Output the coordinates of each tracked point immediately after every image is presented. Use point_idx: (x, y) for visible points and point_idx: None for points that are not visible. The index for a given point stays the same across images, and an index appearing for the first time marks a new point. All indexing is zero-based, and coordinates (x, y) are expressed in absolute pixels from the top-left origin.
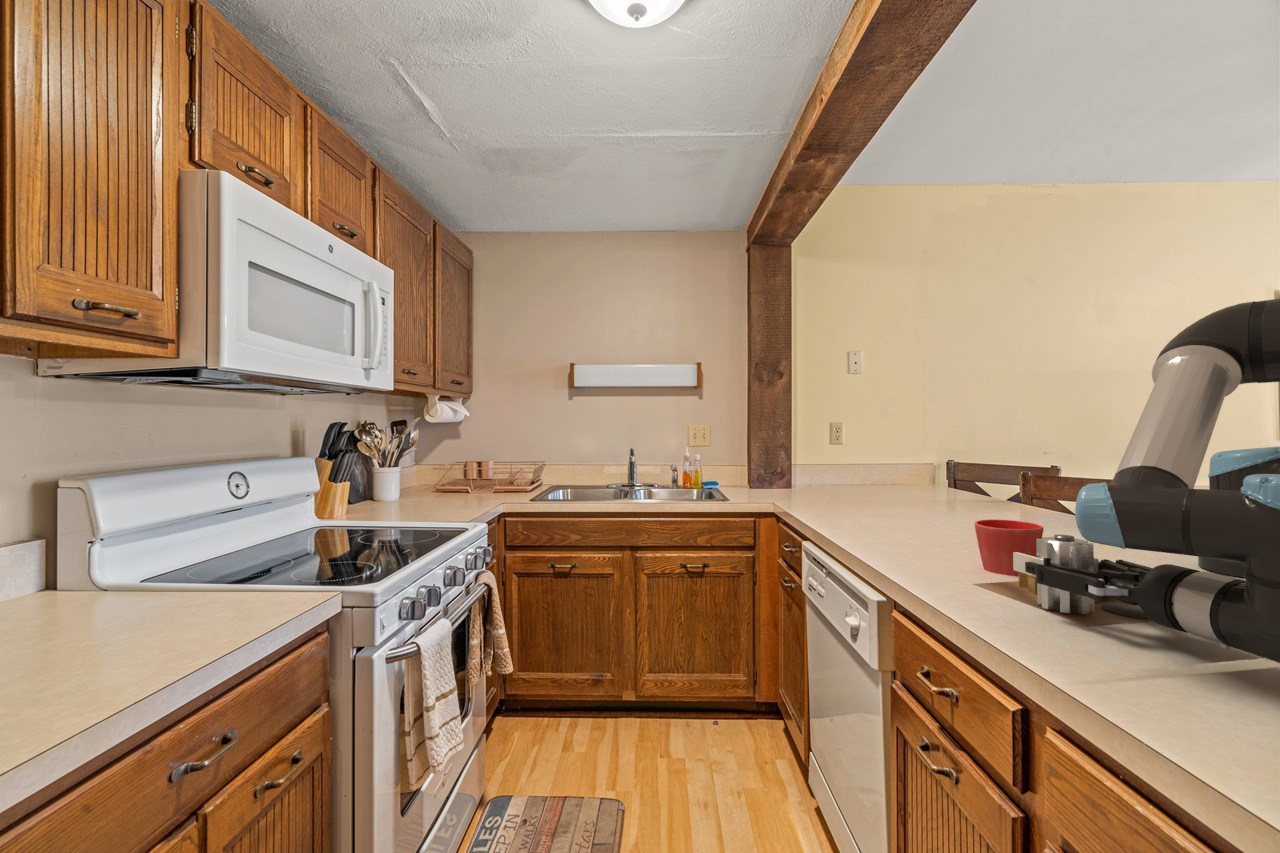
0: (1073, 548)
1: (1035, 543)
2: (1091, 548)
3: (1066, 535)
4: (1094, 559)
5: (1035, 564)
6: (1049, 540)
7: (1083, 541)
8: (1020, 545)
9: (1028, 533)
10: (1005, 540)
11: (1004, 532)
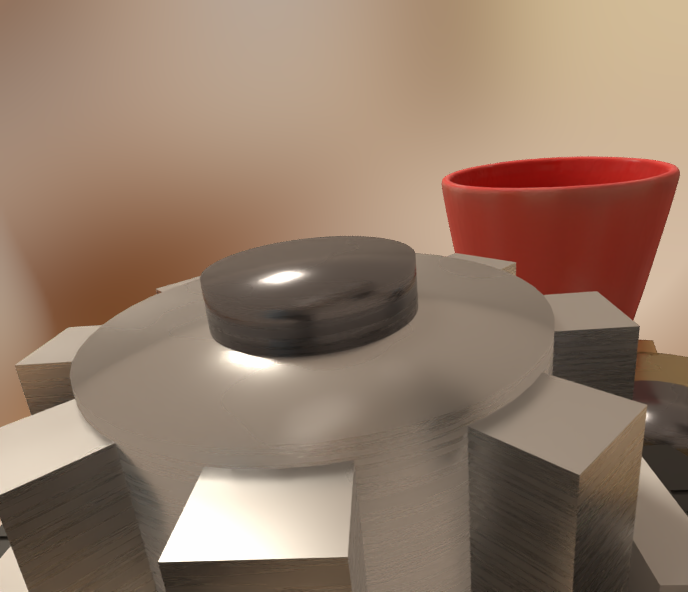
0: (171, 515)
1: (616, 243)
2: (546, 527)
3: (369, 249)
4: (673, 586)
5: (6, 549)
6: (140, 315)
7: (492, 358)
8: (546, 253)
9: (580, 204)
10: (494, 234)
11: (489, 203)
